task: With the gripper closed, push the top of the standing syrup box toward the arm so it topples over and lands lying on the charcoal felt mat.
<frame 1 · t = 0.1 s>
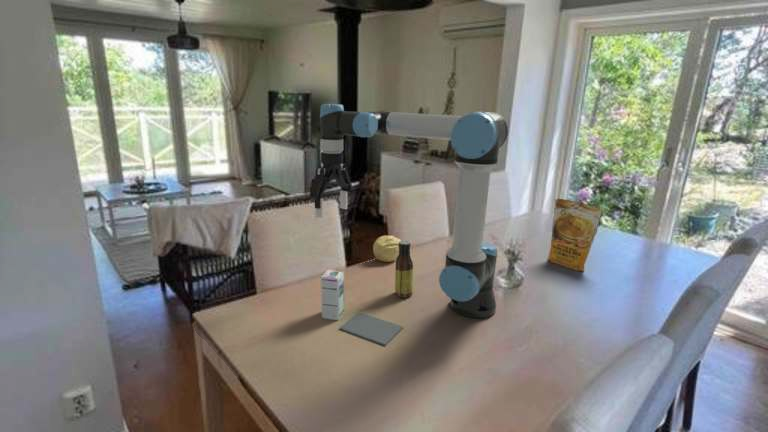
hand: (331, 212, 142), 28 cm above the table, fingers open, 13 cm apart
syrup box: (332, 315, 130), on the table
sauce bottle: (403, 294, 145), on the table
pancake mix bag: (566, 265, 177), on the table
yellow round lump: (386, 259, 176), on the table
felt mat: (371, 328, 123), on the table
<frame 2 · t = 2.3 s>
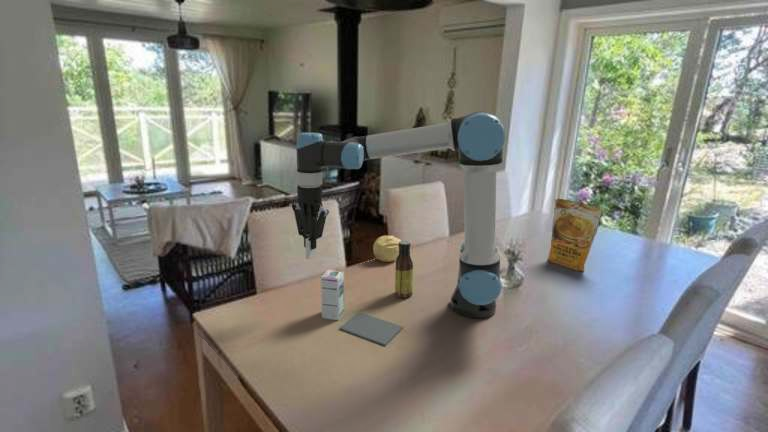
hand: (310, 257, 129), 18 cm above the table, fingers closed
nothing on the table moved.
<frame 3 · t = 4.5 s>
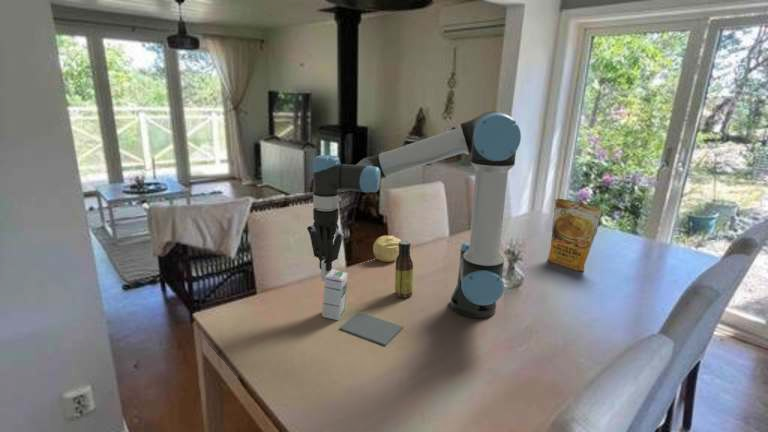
hand: (325, 279, 128), 12 cm above the table, fingers closed
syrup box: (332, 314, 130), on the table, touching gripper
everything else where it was.
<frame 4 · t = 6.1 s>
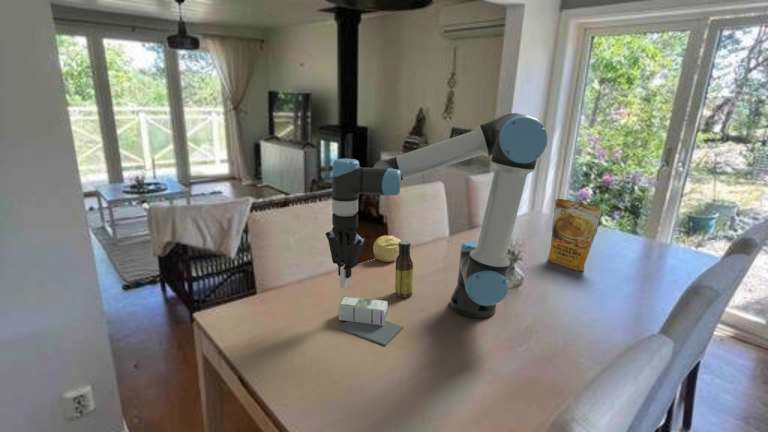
hand: (344, 286, 125), 11 cm above the table, fingers closed
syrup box: (340, 307, 128), point 3 cm above the table, touching felt mat
everything else where it was.
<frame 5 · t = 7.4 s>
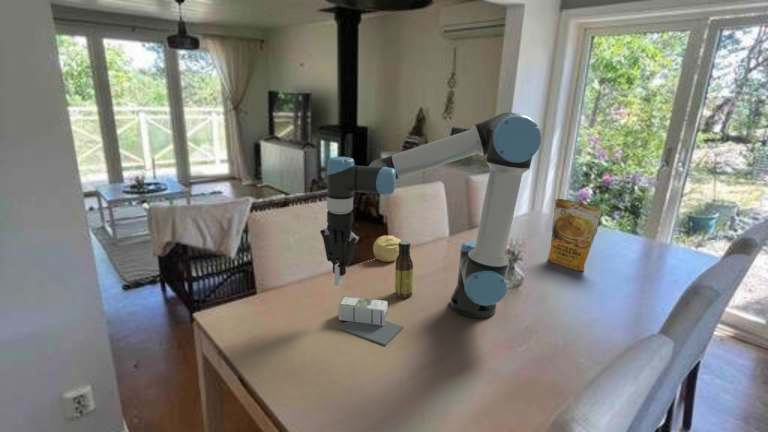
hand: (339, 283, 126), 12 cm above the table, fingers closed
nothing on the table moved.
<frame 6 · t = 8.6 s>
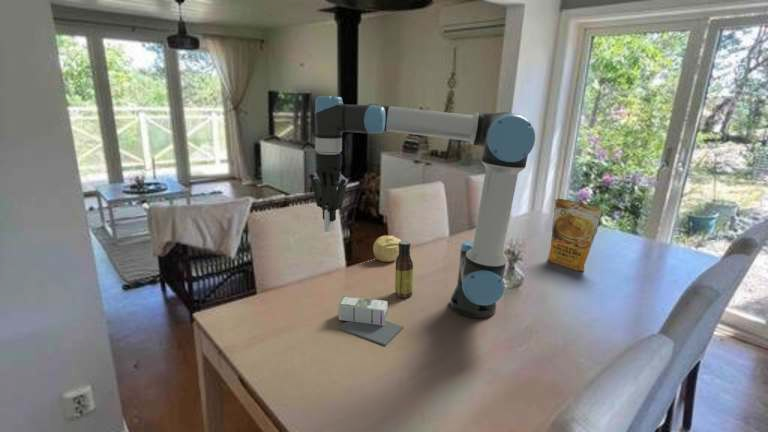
hand: (329, 230, 123), 28 cm above the table, fingers closed
nothing on the table moved.
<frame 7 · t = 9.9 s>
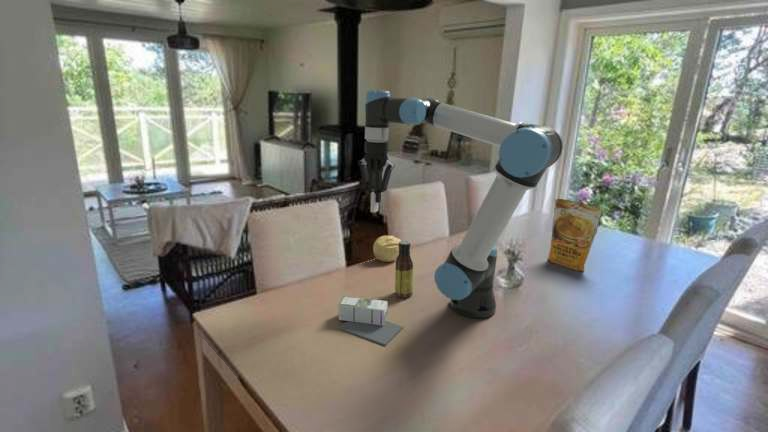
hand: (374, 211, 137), 30 cm above the table, fingers closed
nothing on the table moved.
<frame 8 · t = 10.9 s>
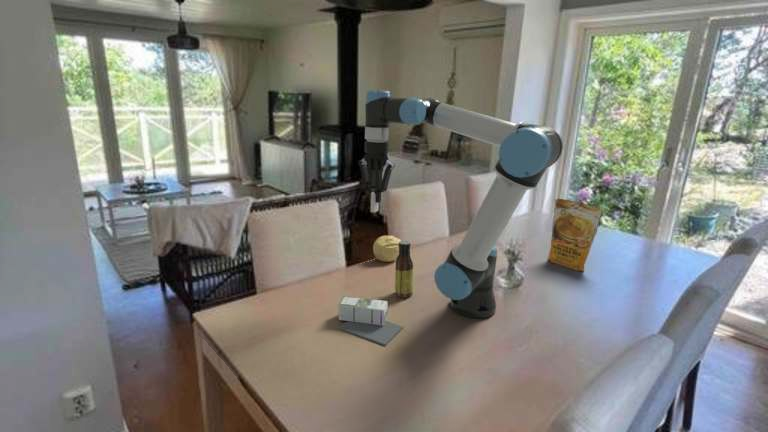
hand: (374, 211, 137), 30 cm above the table, fingers closed
nothing on the table moved.
at the end: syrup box tilted 90°; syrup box inside the target area (8.2 cm from its centre), point 3.4 cm above the table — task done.
